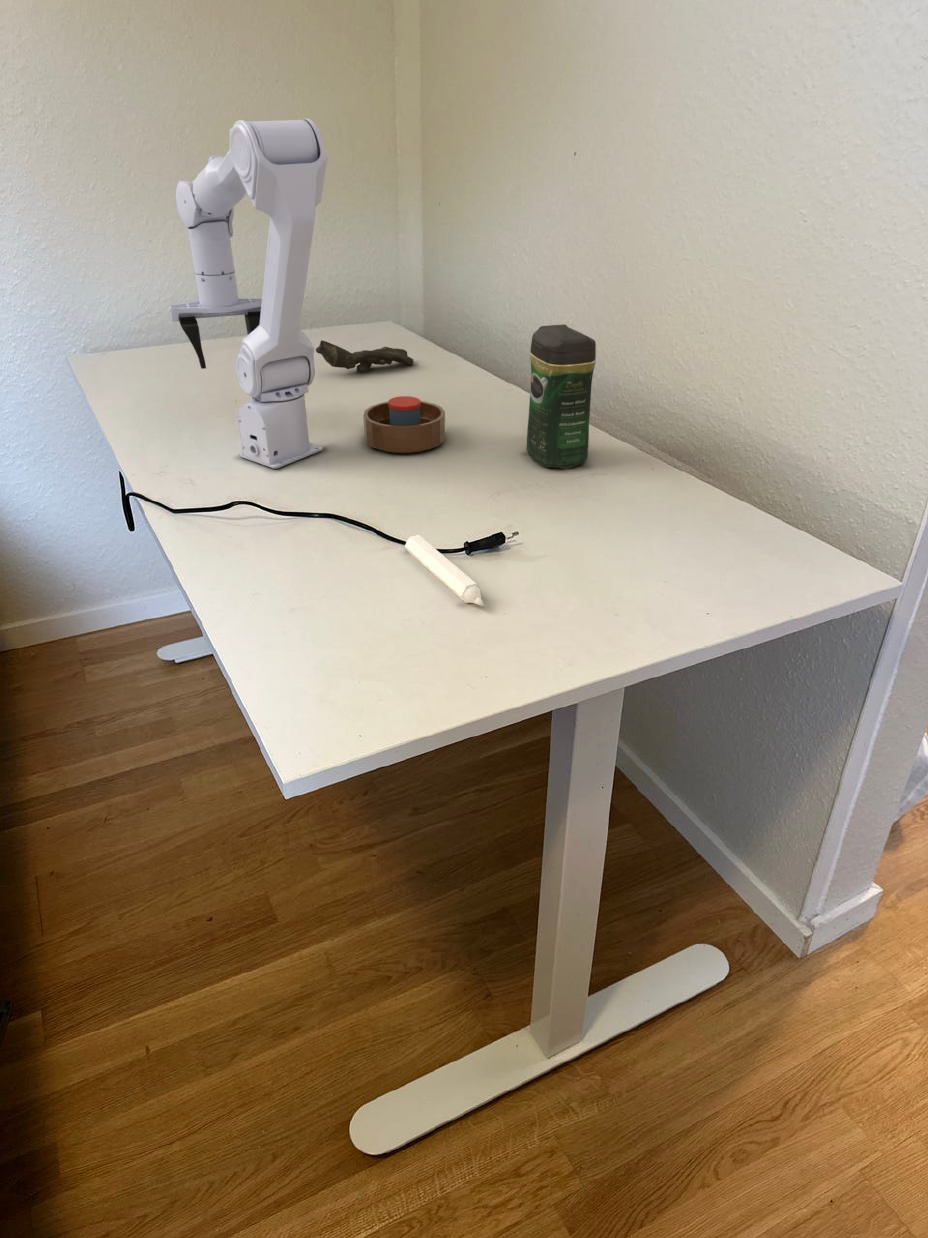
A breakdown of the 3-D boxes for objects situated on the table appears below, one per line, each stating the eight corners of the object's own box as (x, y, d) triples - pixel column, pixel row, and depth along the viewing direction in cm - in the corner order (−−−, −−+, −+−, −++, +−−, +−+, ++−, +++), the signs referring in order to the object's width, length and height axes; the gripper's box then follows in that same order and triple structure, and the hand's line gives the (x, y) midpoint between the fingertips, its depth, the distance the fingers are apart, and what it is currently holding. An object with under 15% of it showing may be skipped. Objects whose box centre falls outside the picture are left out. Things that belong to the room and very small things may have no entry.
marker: (483, 620, 89) (411, 556, 101) (498, 607, 90) (425, 544, 101) (472, 605, 88) (401, 541, 99) (488, 591, 88) (415, 529, 99)
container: (407, 445, 128) (405, 408, 125) (383, 438, 130) (381, 402, 127) (428, 436, 131) (427, 400, 128) (404, 429, 134) (402, 393, 131)
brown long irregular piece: (401, 373, 170) (309, 369, 158) (402, 344, 168) (309, 338, 156) (418, 376, 165) (324, 372, 153) (420, 346, 163) (325, 340, 152)
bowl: (409, 462, 124) (408, 432, 121) (348, 443, 130) (346, 415, 128) (461, 438, 132) (461, 410, 130) (401, 422, 138) (400, 394, 136)
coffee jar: (595, 466, 123) (607, 334, 113) (544, 473, 120) (552, 339, 110) (566, 443, 130) (575, 317, 120) (518, 449, 128) (523, 322, 118)
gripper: (260, 263, 131) (271, 353, 138) (161, 270, 127) (178, 361, 134) (267, 272, 125) (278, 365, 133) (165, 279, 121) (181, 374, 128)
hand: (228, 364), depth 133 cm, fingers open, 7 cm apart
